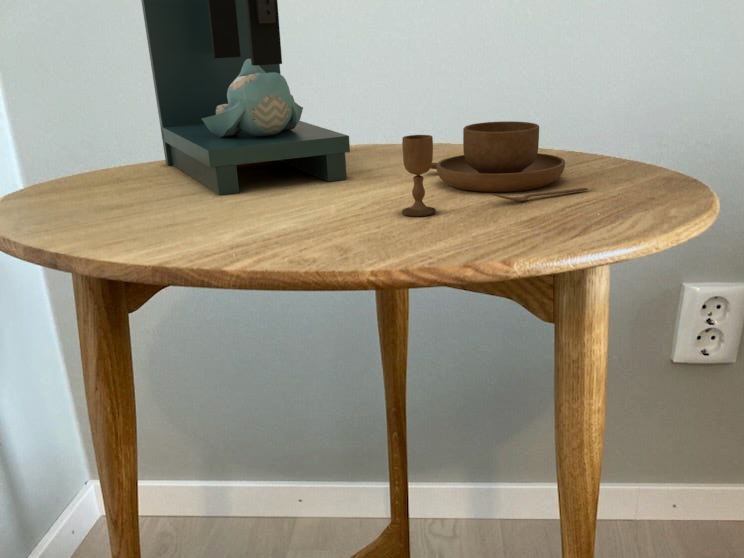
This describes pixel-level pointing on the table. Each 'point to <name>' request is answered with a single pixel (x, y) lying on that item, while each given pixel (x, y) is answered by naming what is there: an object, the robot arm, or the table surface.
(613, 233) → the table surface
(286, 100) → the stuffed animal
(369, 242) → the table surface
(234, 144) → the teal chair-shaped stand
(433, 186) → the table surface
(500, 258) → the table surface
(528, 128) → the place setting
